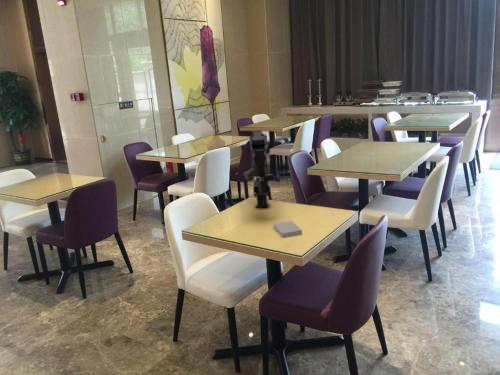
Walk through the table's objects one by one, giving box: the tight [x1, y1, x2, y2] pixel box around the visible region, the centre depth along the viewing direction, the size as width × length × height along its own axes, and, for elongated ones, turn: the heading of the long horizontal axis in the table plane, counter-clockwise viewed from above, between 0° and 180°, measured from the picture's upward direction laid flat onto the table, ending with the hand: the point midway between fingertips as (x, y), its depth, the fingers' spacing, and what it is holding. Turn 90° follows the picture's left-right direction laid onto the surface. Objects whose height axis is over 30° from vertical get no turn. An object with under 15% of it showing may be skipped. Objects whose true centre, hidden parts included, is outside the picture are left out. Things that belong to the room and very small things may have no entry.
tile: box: [272, 220, 303, 239], centre depth 193 cm, size 2×9×13 cm
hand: (262, 193), depth 214 cm, fingers closed
